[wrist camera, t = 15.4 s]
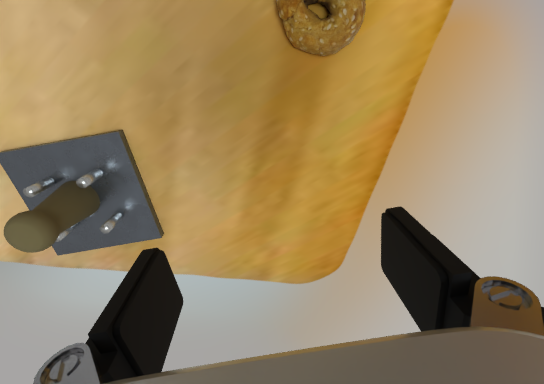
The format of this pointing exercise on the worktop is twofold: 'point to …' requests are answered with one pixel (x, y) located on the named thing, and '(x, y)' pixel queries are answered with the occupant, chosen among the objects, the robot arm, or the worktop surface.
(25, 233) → the olive tapered piece
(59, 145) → the pin plate
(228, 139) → the worktop surface
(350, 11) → the bagel
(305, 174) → the worktop surface
